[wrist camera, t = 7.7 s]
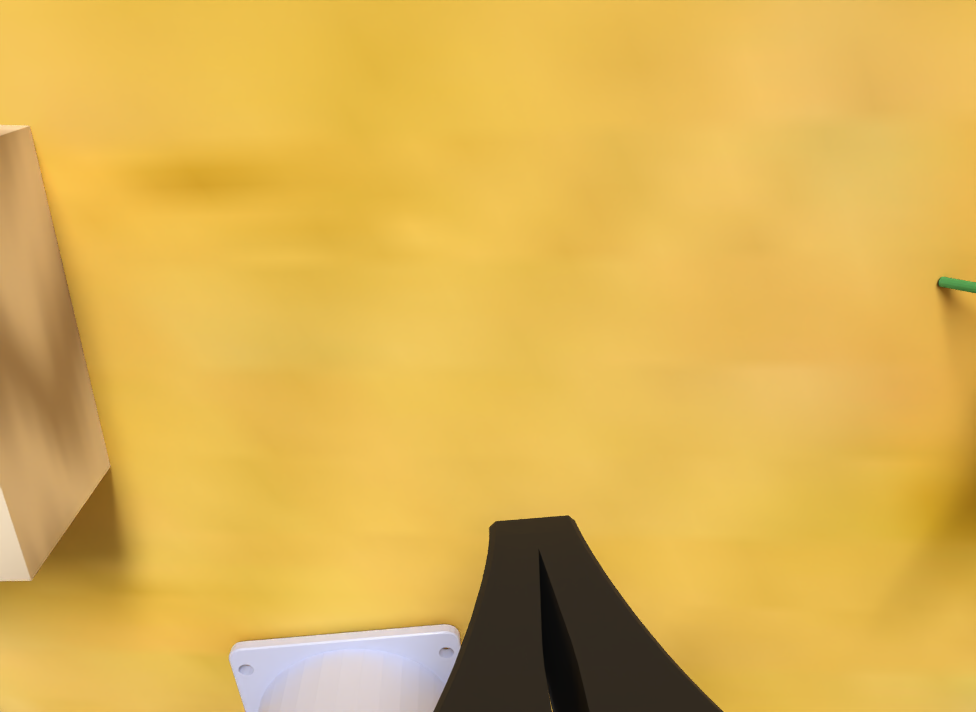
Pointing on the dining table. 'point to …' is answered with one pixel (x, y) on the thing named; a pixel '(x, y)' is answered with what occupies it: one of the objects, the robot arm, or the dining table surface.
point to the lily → (957, 284)
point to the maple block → (38, 375)
